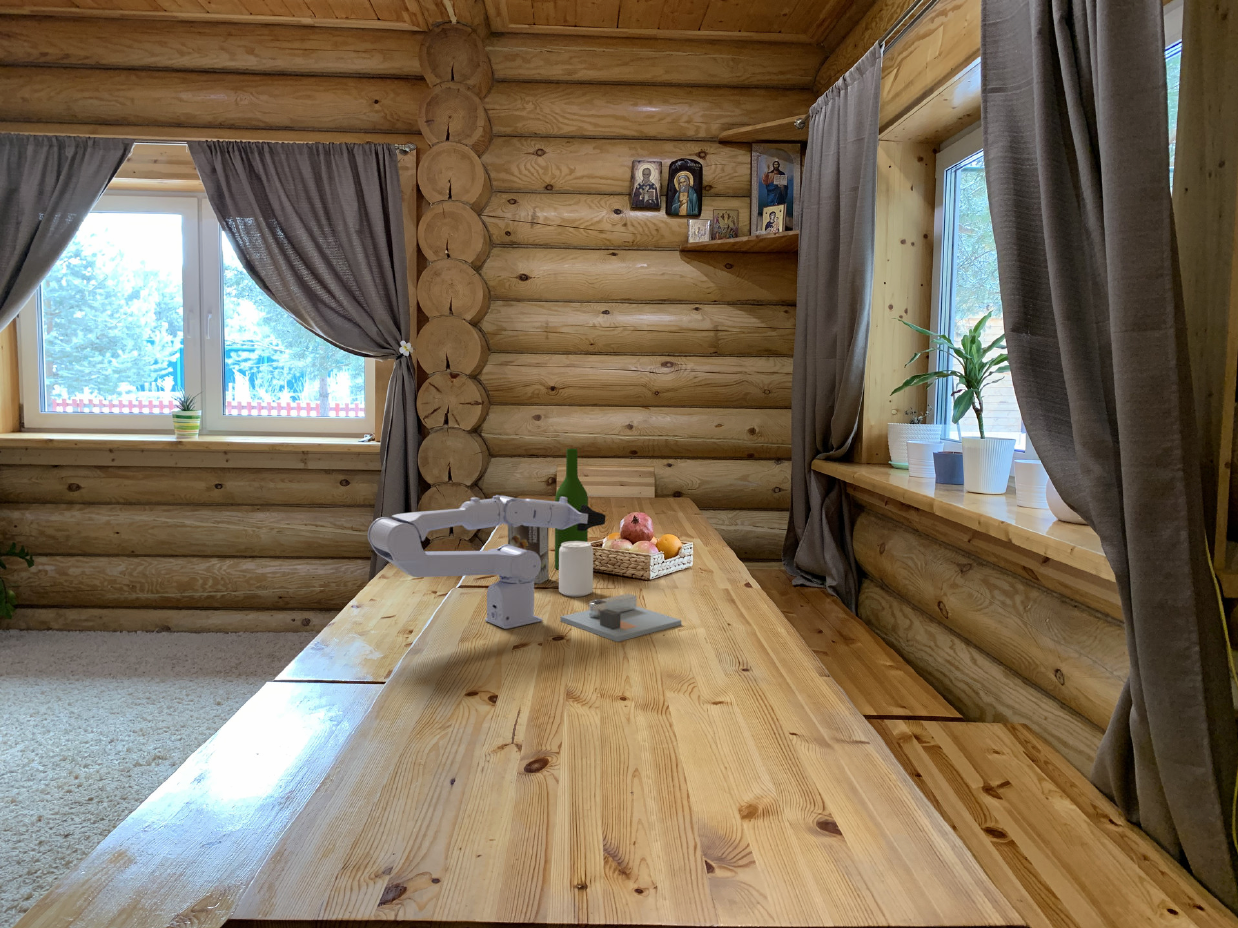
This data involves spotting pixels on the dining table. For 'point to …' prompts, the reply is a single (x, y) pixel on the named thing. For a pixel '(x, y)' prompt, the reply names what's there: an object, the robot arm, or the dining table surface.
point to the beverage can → (576, 568)
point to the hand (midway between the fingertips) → (593, 517)
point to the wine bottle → (575, 498)
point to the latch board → (621, 623)
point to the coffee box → (532, 545)
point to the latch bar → (612, 604)
